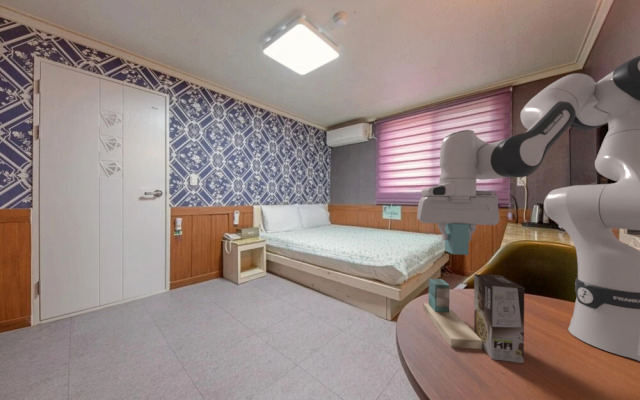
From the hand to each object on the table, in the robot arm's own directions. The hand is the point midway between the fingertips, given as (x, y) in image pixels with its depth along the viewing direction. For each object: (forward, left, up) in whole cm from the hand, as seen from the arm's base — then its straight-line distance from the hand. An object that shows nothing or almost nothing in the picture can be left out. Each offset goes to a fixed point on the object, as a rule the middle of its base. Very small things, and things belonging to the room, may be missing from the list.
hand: (456, 240), depth 65 cm
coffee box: (-5, +9, -24) cm, 26 cm away
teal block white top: (0, 0, -3) cm, 3 cm away
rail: (+2, 0, -24) cm, 24 cm away
